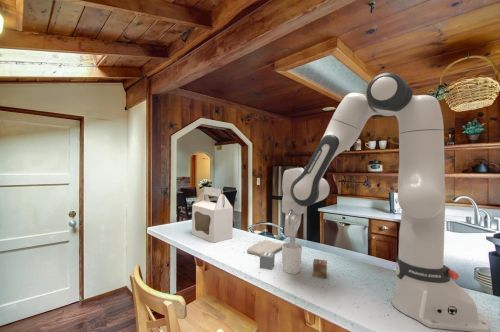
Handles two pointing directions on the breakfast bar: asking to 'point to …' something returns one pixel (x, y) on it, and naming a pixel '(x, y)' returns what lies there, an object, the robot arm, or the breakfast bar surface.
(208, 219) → the gable box
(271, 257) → the slate-grey block
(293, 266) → the white cup
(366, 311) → the breakfast bar surface
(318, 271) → the walnut block
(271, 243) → the washcloth
